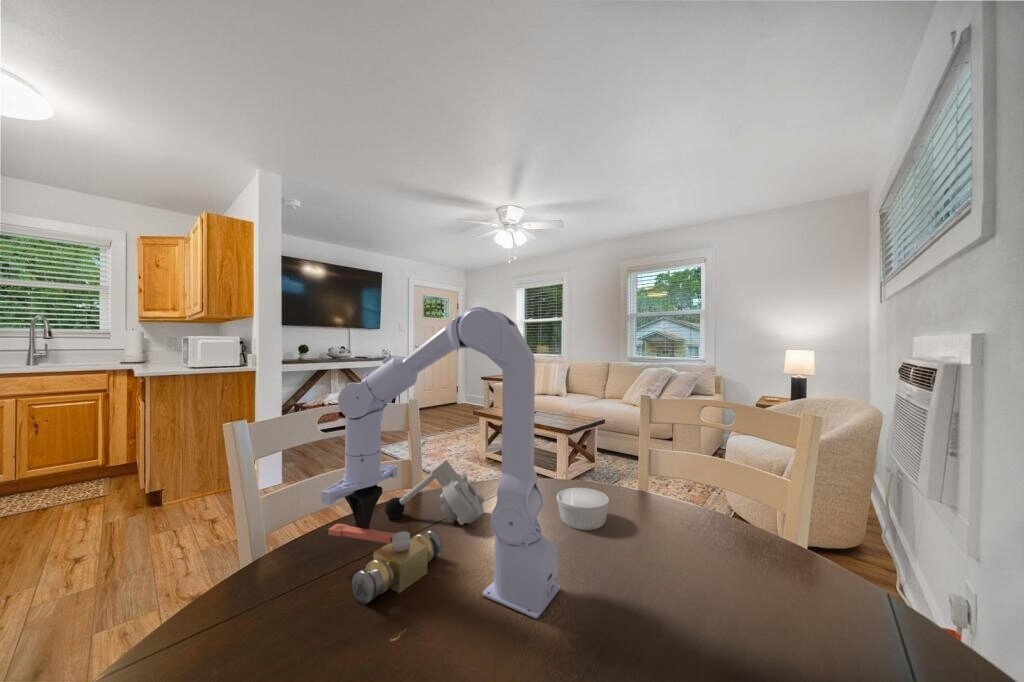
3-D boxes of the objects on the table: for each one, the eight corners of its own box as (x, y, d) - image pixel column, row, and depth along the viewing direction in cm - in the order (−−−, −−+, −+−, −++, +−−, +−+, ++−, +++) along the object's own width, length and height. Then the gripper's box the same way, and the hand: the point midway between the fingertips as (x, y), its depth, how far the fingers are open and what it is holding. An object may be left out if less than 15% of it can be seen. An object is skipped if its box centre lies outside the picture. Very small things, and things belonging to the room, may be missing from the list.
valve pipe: (420, 550, 70) (420, 524, 70) (445, 560, 67) (445, 532, 67) (348, 595, 57) (348, 563, 57) (374, 610, 54) (375, 576, 54)
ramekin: (547, 514, 85) (547, 491, 85) (588, 506, 90) (588, 484, 90) (575, 538, 75) (576, 511, 75) (620, 527, 80) (620, 502, 80)
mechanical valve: (483, 518, 77) (437, 459, 78) (415, 575, 77) (371, 514, 79) (489, 501, 87) (449, 449, 89) (430, 551, 87) (391, 498, 89)
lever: (413, 543, 63) (413, 532, 63) (404, 552, 60) (404, 541, 60) (338, 531, 67) (338, 521, 67) (326, 539, 64) (326, 528, 64)
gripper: (378, 439, 74) (377, 509, 74) (309, 459, 61) (307, 544, 61) (406, 444, 70) (405, 517, 70) (339, 466, 58) (337, 556, 57)
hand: (362, 530), depth 65 cm, fingers closed, pressing on lever
